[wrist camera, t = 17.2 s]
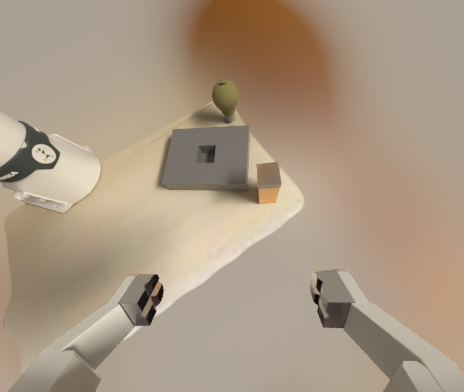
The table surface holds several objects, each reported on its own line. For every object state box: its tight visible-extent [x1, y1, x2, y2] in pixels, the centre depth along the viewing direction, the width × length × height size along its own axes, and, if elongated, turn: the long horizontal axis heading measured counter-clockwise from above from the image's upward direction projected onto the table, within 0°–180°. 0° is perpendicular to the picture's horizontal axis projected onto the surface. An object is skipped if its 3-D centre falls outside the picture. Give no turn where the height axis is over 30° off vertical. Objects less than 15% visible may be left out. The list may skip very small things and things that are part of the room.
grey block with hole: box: [161, 125, 250, 190], centre depth 38 cm, size 18×14×4 cm
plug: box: [257, 162, 281, 204], centre depth 30 cm, size 3×4×10 cm
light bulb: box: [212, 80, 238, 122], centre depth 38 cm, size 6×6×10 cm
